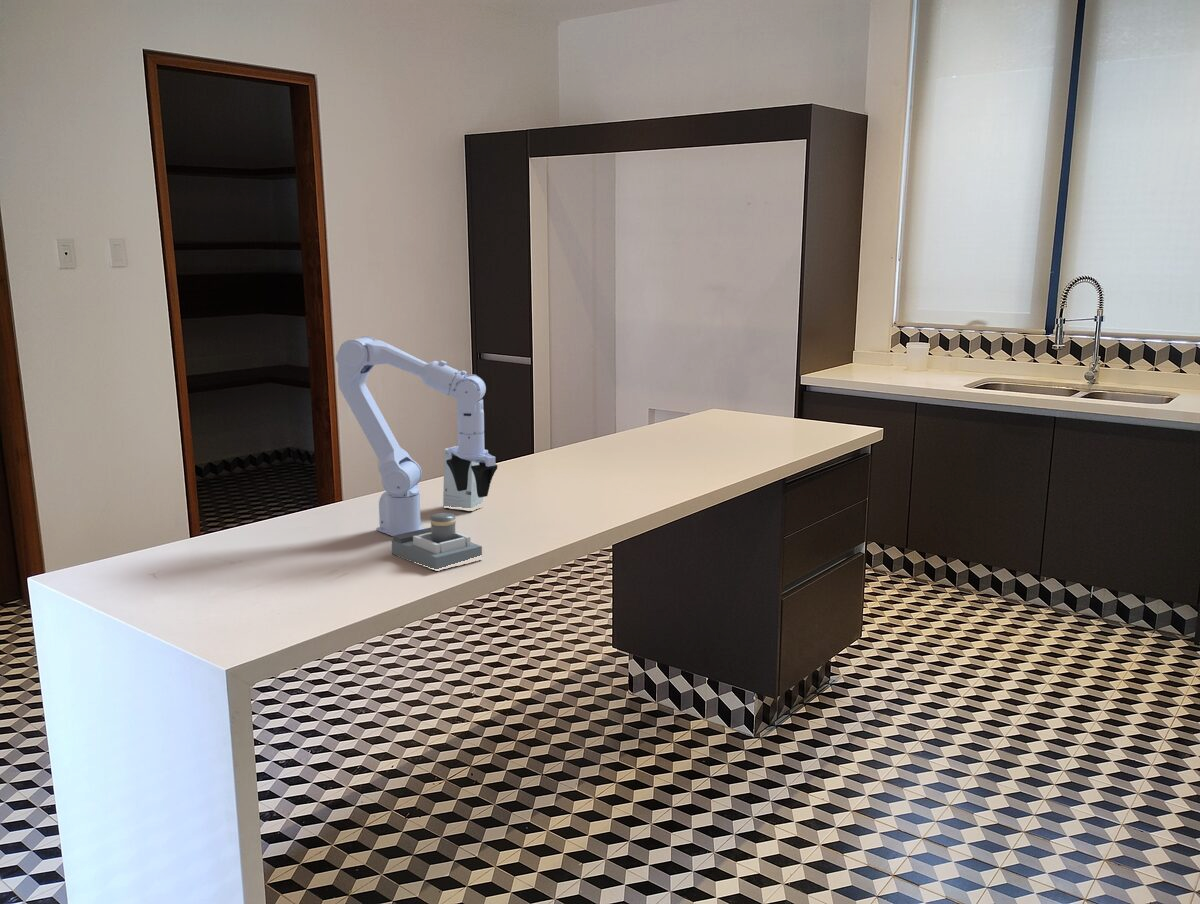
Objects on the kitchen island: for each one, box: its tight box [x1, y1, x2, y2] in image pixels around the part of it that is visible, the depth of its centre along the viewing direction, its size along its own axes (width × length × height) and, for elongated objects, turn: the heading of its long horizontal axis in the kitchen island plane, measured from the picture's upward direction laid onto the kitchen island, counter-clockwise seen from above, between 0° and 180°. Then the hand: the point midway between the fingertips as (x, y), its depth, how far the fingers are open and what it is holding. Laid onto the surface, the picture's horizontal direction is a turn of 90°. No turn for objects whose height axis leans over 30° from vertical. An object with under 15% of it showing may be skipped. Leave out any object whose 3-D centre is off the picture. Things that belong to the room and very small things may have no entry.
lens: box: [430, 512, 457, 544], centre depth 195 cm, size 5×5×6 cm
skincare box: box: [442, 445, 484, 508], centre depth 234 cm, size 8×6×15 cm
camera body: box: [391, 526, 483, 569], centre depth 197 cm, size 16×11×5 cm
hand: (472, 493), depth 211 cm, fingers open, 7 cm apart
